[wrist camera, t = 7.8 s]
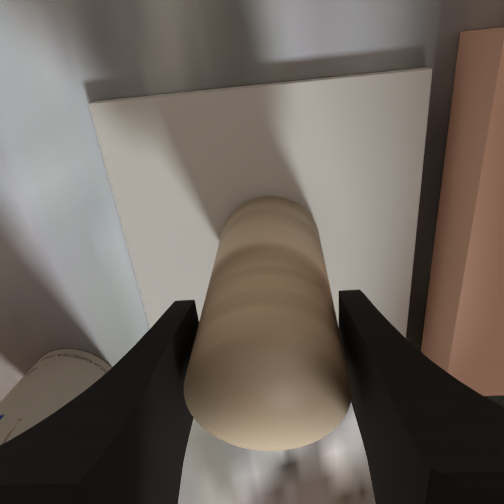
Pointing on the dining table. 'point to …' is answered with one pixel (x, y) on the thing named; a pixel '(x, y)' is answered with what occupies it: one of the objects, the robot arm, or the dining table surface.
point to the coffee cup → (48, 389)
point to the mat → (271, 177)
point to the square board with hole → (471, 224)
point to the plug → (268, 334)
